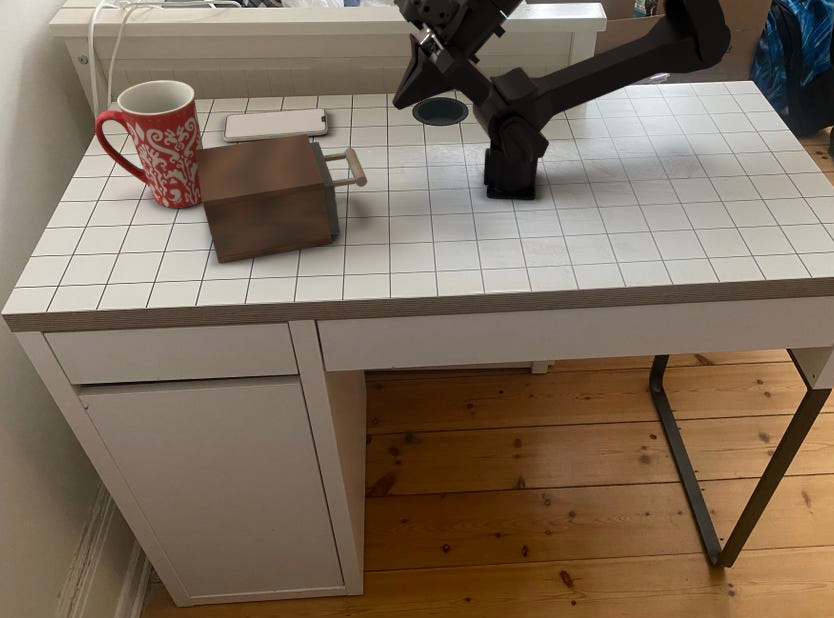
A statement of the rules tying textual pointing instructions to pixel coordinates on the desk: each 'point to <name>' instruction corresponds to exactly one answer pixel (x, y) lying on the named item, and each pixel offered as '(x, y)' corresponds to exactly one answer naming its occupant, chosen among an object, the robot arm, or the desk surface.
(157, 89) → the mug
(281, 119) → the smartphone
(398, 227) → the desk surface
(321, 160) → the drawer
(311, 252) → the desk surface
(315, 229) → the cabinet
